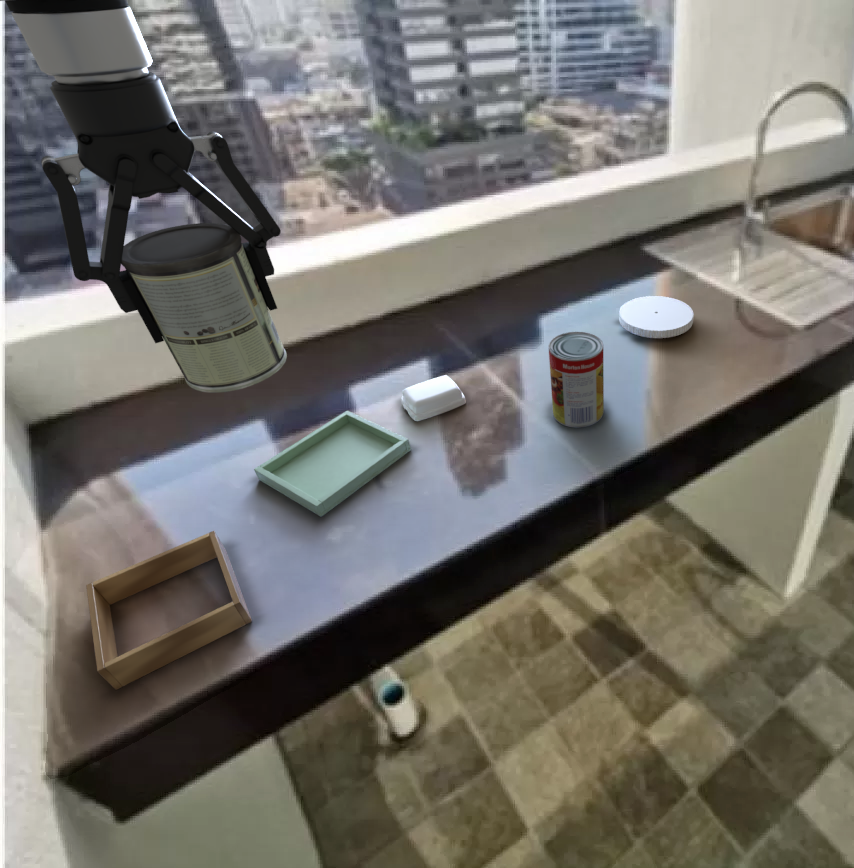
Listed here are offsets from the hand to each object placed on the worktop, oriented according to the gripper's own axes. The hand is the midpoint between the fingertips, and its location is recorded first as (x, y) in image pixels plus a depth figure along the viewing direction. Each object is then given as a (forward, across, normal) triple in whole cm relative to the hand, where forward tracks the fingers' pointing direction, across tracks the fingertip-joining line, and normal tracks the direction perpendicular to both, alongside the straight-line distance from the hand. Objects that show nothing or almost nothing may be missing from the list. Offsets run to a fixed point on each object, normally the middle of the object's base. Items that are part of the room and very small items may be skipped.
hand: (216, 320), depth 63 cm
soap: (+27, -24, -9) cm, 37 cm away
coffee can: (+6, 0, 0) cm, 6 cm away
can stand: (+26, +16, +10) cm, 32 cm away
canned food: (+27, -40, +8) cm, 49 cm away
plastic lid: (+27, -68, -6) cm, 74 cm away
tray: (+26, -6, -4) cm, 27 cm away
